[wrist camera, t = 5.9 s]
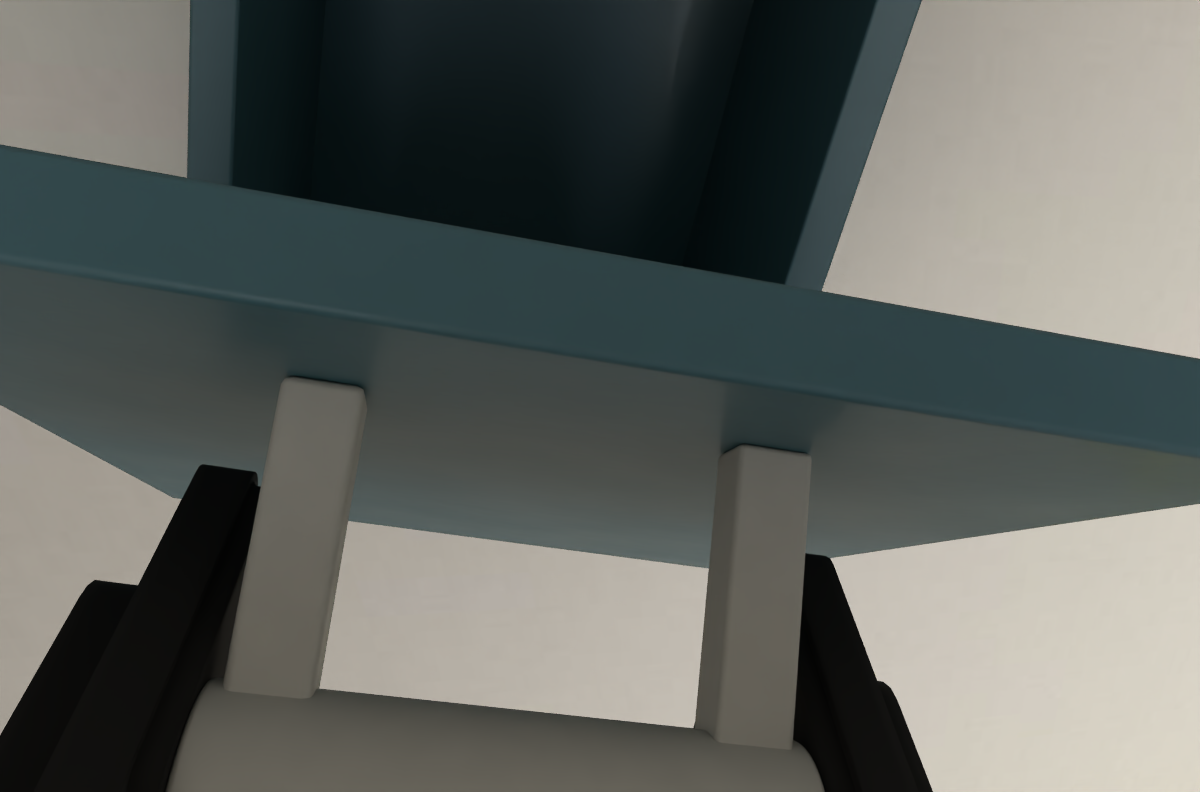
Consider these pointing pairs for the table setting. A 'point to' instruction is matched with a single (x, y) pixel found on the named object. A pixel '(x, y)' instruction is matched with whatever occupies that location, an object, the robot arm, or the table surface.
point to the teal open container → (559, 117)
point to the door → (536, 449)
